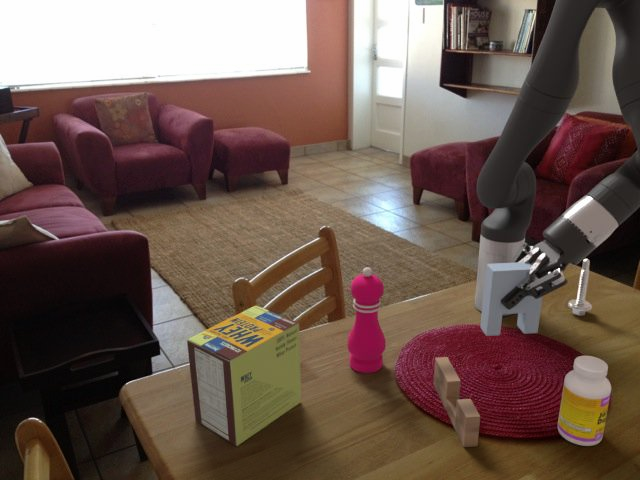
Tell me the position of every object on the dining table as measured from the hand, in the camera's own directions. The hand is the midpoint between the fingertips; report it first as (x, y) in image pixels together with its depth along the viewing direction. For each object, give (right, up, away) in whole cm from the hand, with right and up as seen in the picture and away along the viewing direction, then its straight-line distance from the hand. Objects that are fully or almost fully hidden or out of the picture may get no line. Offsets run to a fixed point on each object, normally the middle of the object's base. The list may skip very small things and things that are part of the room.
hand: (500, 300), depth 102 cm
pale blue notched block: (+2, -5, +2) cm, 6 cm away
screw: (+27, -6, +32) cm, 42 cm away
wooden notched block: (-8, -19, -1) cm, 20 cm away
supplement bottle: (+11, -21, -6) cm, 24 cm away
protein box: (-42, -19, 0) cm, 46 cm away
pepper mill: (-22, -14, +13) cm, 29 cm away
